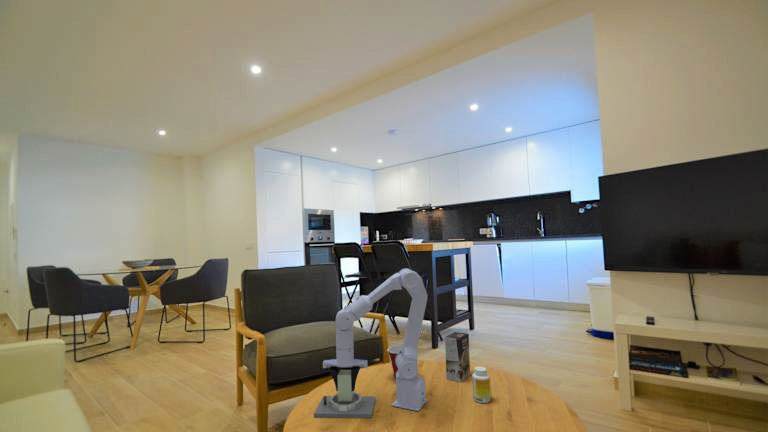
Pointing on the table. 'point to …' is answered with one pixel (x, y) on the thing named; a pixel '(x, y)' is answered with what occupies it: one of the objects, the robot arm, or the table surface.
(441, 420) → the table surface
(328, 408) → the base board
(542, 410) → the table surface
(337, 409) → the collar
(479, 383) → the supplement bottle
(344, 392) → the pale green rectangular block
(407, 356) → the robot arm
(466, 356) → the coffee box
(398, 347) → the plastic cup
